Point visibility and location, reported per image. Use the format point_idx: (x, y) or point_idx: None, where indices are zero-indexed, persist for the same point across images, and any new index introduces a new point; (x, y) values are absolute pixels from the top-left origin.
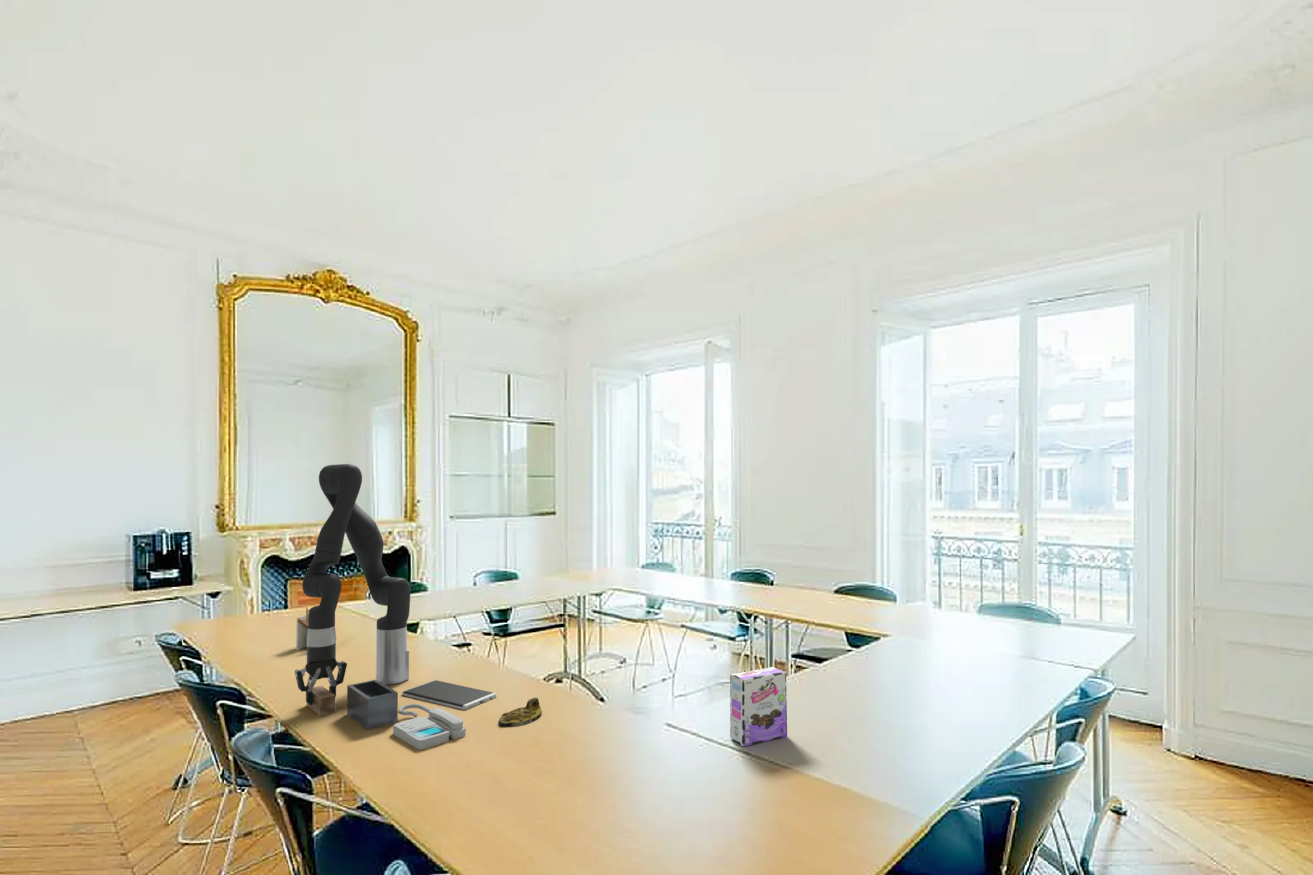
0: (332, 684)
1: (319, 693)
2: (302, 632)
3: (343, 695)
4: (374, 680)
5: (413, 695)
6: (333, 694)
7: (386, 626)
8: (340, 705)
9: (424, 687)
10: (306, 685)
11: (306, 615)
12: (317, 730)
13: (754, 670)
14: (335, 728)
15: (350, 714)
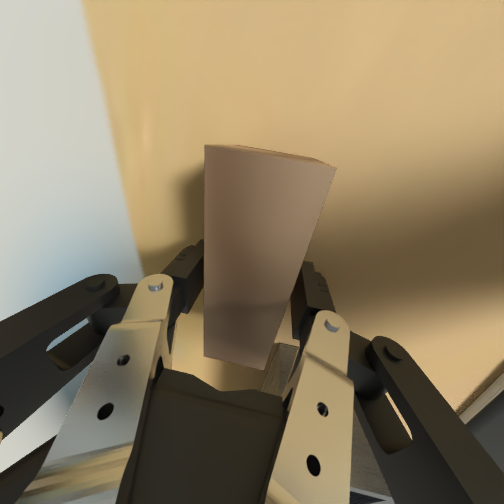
0: (297, 363)
1: (227, 311)
2: None
3: (474, 141)
4: (393, 501)
5: (496, 397)
6: (264, 361)
7: None
8: (324, 273)
9: None
10: (132, 302)
11: None
12: (186, 356)
13: None
14: (217, 371)
15: (273, 364)
